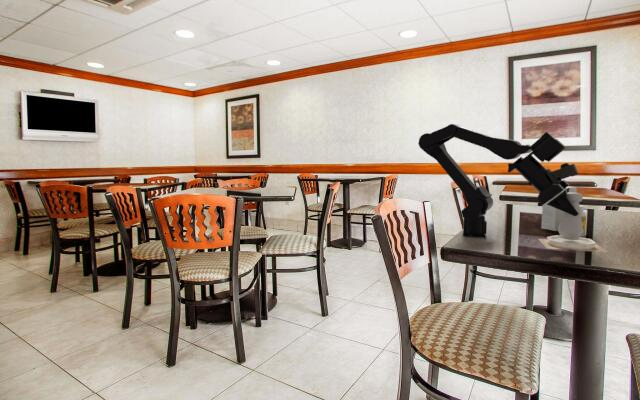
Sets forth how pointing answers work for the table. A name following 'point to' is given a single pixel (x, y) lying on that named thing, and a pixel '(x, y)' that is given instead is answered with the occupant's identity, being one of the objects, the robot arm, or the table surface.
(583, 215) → the supplement bottle
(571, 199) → the salt shaker
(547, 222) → the skincare box
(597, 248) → the placemat
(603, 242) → the table surface
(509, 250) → the table surface
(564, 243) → the dish
